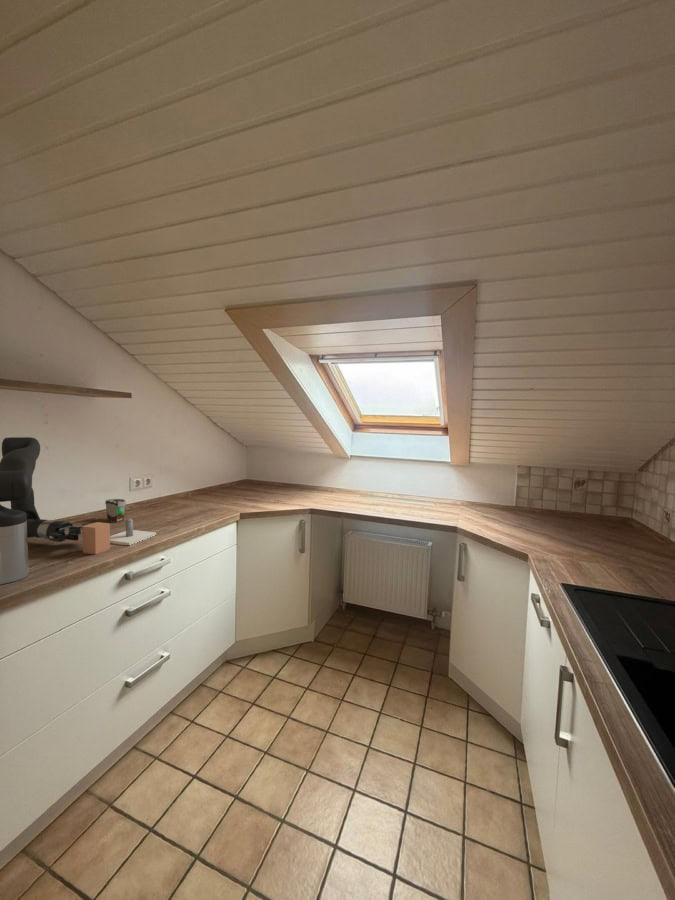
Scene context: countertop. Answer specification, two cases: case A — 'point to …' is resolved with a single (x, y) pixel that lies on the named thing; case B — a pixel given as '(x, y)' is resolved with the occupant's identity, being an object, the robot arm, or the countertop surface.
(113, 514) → the food container
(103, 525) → the salmon orange block
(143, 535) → the post
